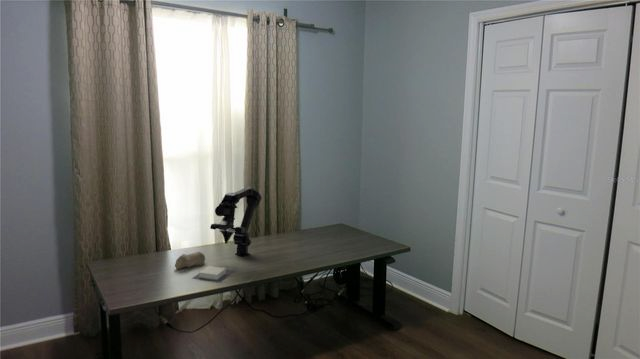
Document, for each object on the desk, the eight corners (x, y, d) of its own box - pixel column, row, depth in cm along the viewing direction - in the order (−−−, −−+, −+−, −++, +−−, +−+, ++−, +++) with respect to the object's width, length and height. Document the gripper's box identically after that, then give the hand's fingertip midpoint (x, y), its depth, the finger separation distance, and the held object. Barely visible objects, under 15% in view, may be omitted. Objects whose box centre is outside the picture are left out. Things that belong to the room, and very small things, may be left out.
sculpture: (169, 261, 241) (176, 251, 236) (197, 254, 254) (204, 244, 248) (176, 275, 238) (183, 265, 233) (204, 267, 251) (211, 257, 245)
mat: (208, 267, 243) (208, 266, 243) (235, 271, 240) (235, 270, 239) (191, 279, 226) (191, 278, 226) (220, 283, 222) (220, 282, 222)
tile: (208, 265, 236) (199, 272, 226) (225, 268, 234) (217, 274, 224) (208, 271, 237) (199, 277, 227) (225, 273, 234) (217, 280, 225)
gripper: (207, 214, 245) (204, 242, 244) (239, 218, 241) (235, 247, 240) (216, 213, 255) (213, 240, 255) (246, 217, 251) (243, 245, 251)
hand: (226, 243), depth 250 cm, fingers closed
